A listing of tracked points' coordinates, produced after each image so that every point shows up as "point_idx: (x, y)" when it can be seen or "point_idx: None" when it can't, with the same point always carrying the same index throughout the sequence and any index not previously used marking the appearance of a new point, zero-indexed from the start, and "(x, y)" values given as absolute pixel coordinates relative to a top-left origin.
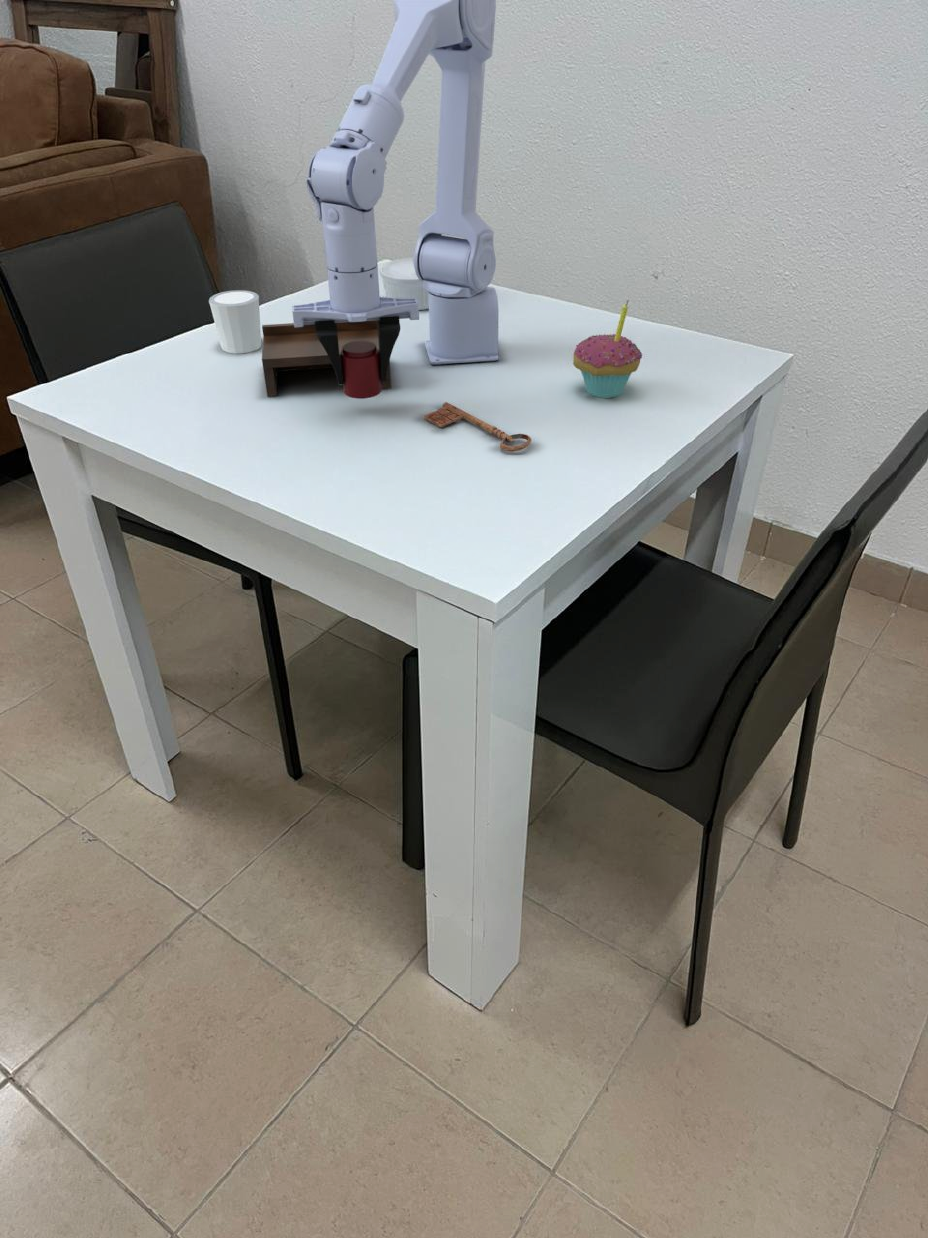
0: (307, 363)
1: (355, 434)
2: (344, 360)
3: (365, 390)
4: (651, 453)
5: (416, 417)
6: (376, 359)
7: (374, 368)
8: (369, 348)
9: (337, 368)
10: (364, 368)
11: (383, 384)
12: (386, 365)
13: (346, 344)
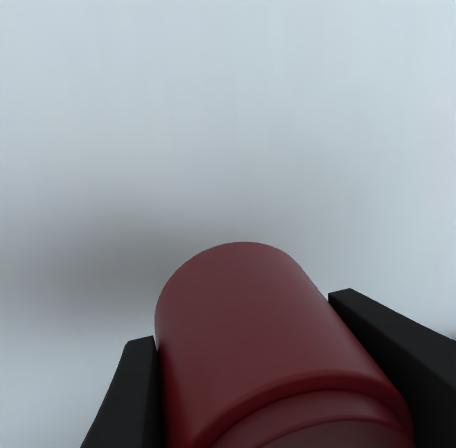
0: None
1: (237, 73)
2: (384, 374)
3: (223, 263)
4: None
5: (2, 232)
6: (178, 424)
7: (186, 363)
8: None
9: (401, 327)
10: (249, 334)
11: None
12: (110, 399)
13: None
